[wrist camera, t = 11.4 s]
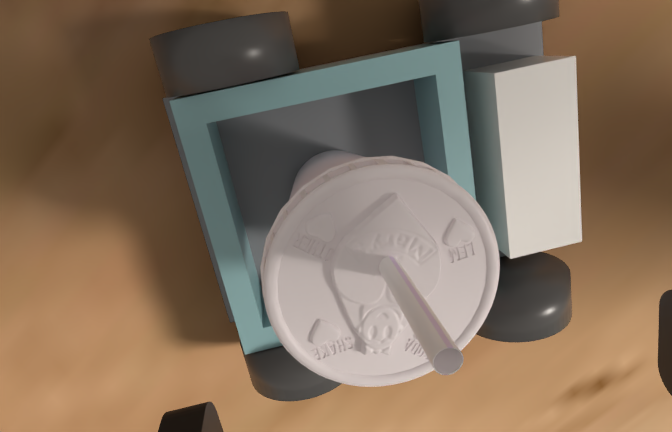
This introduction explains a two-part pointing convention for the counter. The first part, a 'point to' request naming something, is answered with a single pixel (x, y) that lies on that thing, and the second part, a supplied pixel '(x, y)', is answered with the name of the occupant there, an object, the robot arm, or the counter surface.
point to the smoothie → (378, 269)
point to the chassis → (381, 149)
